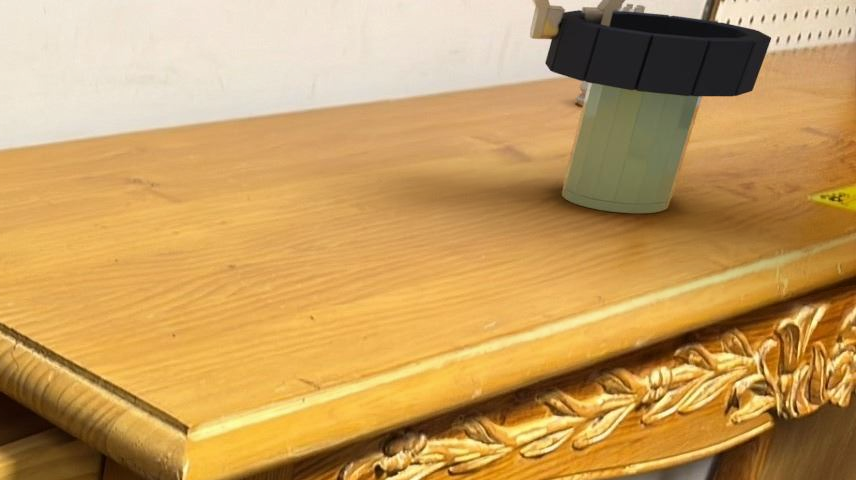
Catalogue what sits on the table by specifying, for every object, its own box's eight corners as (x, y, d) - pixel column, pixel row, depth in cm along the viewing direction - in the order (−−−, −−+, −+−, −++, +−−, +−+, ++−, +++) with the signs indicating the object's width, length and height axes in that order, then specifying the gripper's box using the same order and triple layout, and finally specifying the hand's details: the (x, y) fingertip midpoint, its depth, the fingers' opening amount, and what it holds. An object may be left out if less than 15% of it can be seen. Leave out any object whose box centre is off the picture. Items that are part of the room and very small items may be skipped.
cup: (657, 192, 80) (700, 47, 75) (677, 217, 74) (724, 63, 70) (555, 184, 81) (591, 41, 77) (567, 208, 76) (606, 57, 72)
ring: (724, 71, 78) (741, 21, 76) (772, 104, 68) (793, 48, 67) (537, 53, 80) (550, 4, 79) (558, 83, 71) (574, 28, 69)
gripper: (435, -227, 68) (389, 37, 74) (855, -226, 63) (764, 57, 69) (431, -223, 73) (388, 23, 80) (817, -222, 68) (737, 40, 75)
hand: (566, 39), depth 74 cm, fingers closed on ring
